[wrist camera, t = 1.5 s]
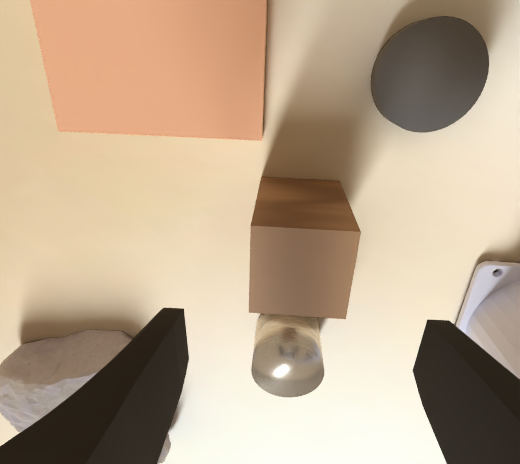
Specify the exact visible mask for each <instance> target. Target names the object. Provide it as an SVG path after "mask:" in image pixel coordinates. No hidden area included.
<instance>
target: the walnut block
mask: <svg viewBox="0 0 520 464" xmlns="http://www.w3.org/2000/svg"><path fill="white" fill-rule="evenodd" d="M360 234H361V231H360V229H359V227H358V224H357V222H356V219H355V217H354V215H353V212H352V210H351V208H350V205H349V203H348V201H347V198H346V196H345V193H344V191H343V189H342V186H341V184H340V182H339V181H333V180H313V179H293V178H273V177H261V181H260V186H259V190H258V195H257V199H256V204H255V209H254V213H253V218H252V222H251V239H250V286H249V312H250V313H265V314H279V315H294V316H308V317H323V318H337V319H346V314H347V308H348V303H349V297H350V291H351V285H352V280H353V274H354V268H355V262H356V257H357V251H358V245H359V239H360Z"/></svg>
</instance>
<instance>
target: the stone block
mask: <svg viewBox="0 0 520 464" xmlns="http://www.w3.org/2000/svg"><path fill="white" fill-rule="evenodd" d="M130 341H132V338H131V337H130V336H128V335H127V334H125V333H124V332H122V331H116V330H113V331H107V330H86V331H82V332H80V333H76V334H70V335H69V336H67V337H61V338H46V339H43V340H39V341H35V342H31V343H25V344H23V345H21V346H20V347H18V348H17V349H16V350H15V351H14V352H13V353H12V354H11V355H9V356H8V357H7V358H6V359H5V360H4V361H3V362H2V363H1V365H0V413H1V414H2V415H3V416H4V418H5V419H7V420H8V421H9V422H10V423H11V425H12V426H14V427H15V428H16V430H17V431H18V432H22V431H24V430H25V429H26V428H28V427H29V426H31V425H32V424H34V423H35V422H37V421H38V420H39V419H41V418H42V417H44V416H45V415H46V414H48V413H49V412H50V411H52V410H53V409H54V408H56V407H57V406H58V405H59V404H61V403H62V402H63V401H65V400H66V399H67V398H68V397H70V396H71V395H72V394H73V393H74V392H76V391H77V390H78V389H79V388H80V387H82V386H83V385H84V384H85V383H86V382H87V381H89V380H90V379H91V378H92V377H93V376H94V375H95V374H96V373H98V372H99V371H100V370H101V369H102V368H103V367H104V366H105V365H107V364H108V363H109V362H110V361H111V360H112V359H113V358H114V357H115V356H116V355H117V354H118V353H119V352H120V351H121V350H122V349H123V348H124V347H125V346H126V345H127V344H128V343H129V342H130ZM170 446H171V442H170V440H169V434H167V437H166V440H165V442H164V445H163V448H162V451H161V454H160V457H159V460H158V463H157V464H159V463H163V462H164V461H165V459H166V456H167V454H168V453H169V449H170Z"/></svg>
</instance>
